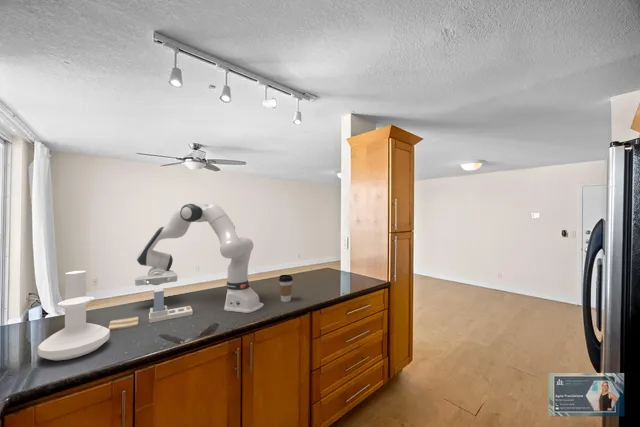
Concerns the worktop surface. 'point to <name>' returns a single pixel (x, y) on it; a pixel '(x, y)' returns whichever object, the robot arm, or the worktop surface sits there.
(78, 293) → the cylindrical container
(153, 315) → the power strip
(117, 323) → the oak pad
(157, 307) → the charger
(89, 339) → the candle holder
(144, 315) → the worktop surface
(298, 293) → the worktop surface
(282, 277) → the coffee cup
